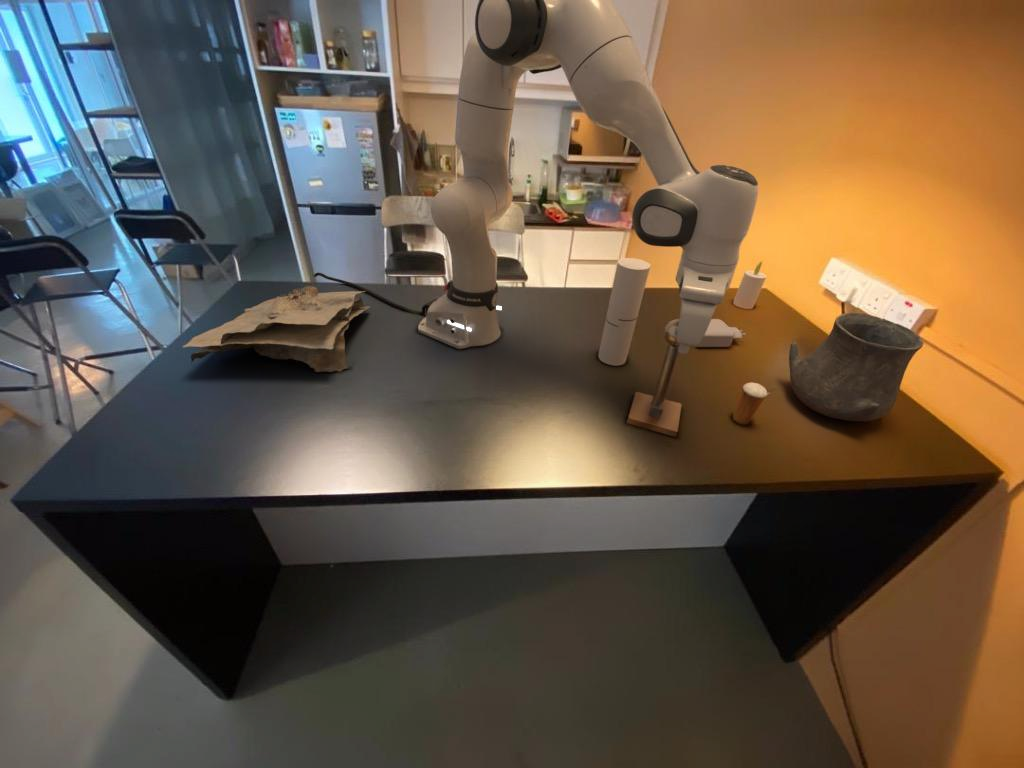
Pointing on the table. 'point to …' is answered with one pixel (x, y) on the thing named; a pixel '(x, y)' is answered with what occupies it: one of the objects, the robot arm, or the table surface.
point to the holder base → (655, 414)
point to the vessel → (854, 368)
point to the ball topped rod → (667, 363)
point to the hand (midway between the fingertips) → (683, 344)
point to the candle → (749, 288)
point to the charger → (720, 334)
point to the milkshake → (749, 402)
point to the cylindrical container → (623, 310)
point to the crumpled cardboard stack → (290, 329)
